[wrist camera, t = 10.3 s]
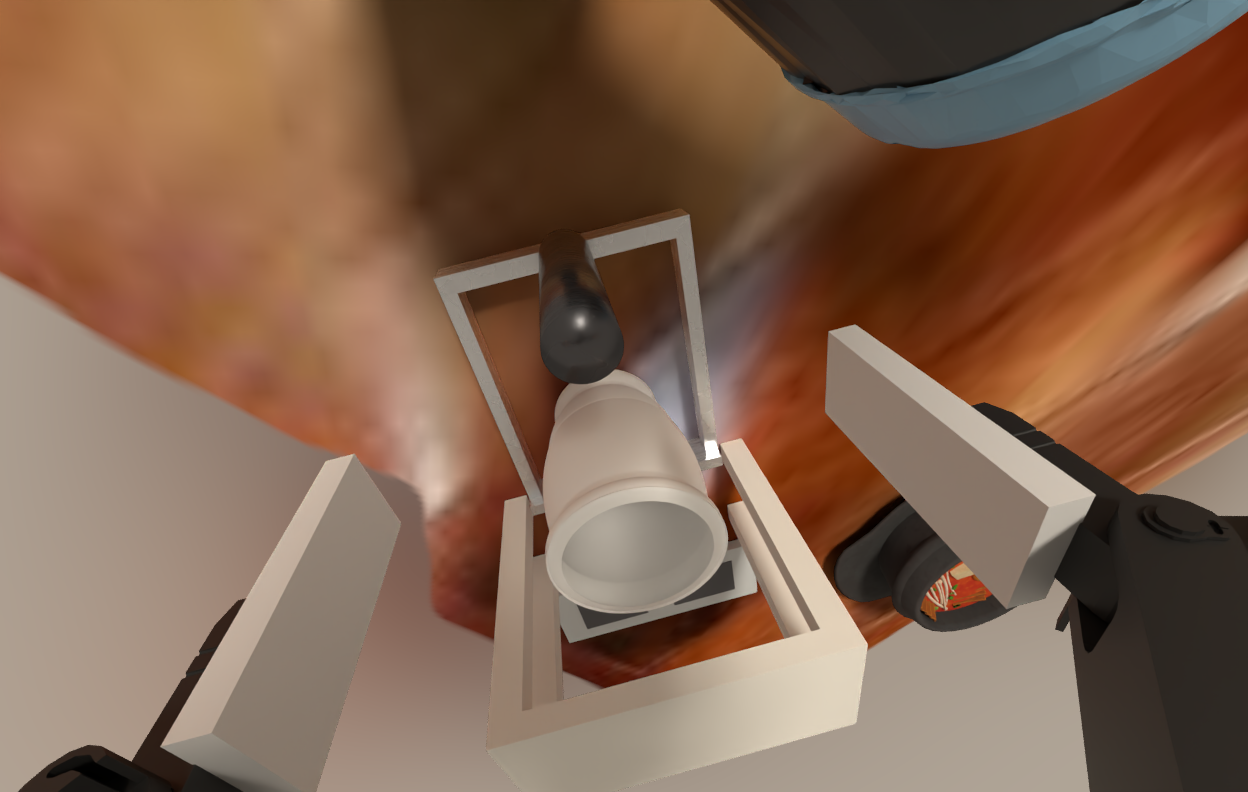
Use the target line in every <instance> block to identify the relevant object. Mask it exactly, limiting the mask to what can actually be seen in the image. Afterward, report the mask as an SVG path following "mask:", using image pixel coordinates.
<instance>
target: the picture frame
mask: <svg viewBox="0 0 1248 792" xmlns="http://www.w3.org/2000/svg"><path fill="white" fill-rule="evenodd" d="M667 240H670V243H671V249H672V256H673V263H674V270H675V277H676V283H677V290H678V297H679V304H680V311H681V317H682V324H683V331H684V338H685V344H686V351H687V358H688V365H689V372H690V378H691V385H692V392H693V399H694V406H695V412H696V419H697V426H698V433H699V438H695V439H691V440H687V441H688V443H689V445H690V447H691V448H692V450H693V452H694V454H695V457H696V459H697V461H698V464H699V466H700V469H701V471H703V470H707V469H711V468H715V467H718V466H722V465H723V462H722V456H721V454H720V452H719V450H718V446H717V437H716V429H715V421H714V413H713V405H712V396H711V388H710V380H709V372H708V363H707V355H706V347H705V339H704V331H703V322H702V314H701V306H700V298H699V289H698V281H697V273H696V265H695V257H694V248H693V240H692V232H691V224H690V216H689V214H688V213H687V212H685V211H684V210H683V209H681V208H680V209H676V210H672V211H668V212H664V213H660V214H656V215H652V216H648V217H644V218H640V219H636V220H632V221H628V222H624V223H620V224H616V225H612V226H609V227H605V228H601V229H597V230H593V231H589V232H585V233H581V234H579V233H577V232H575V231H572V230H569V229H560V230H556V231H553V232H551V233H550V234H548V235H547V236H546V237H545V238H544V239H543V241H542V242H541V244H537V245H533V246H529V247H525V248H521V249H517V250H513V251H509V252H505V253H501V254H497V255H493V256H489V257H485V258H481V259H477V260H473V261H469V262H465V263H461V264H457V265H453V266H449V267H445V268H441V269H439V270H438V272H437V273H436V275H435V277H434V282H435V284H436V286H437V288H438V291H439V293H440V295H441V298H442V300H443V302H444V304H445V307H446V309H447V311H448V314H449V316H450V318H451V320H452V323H453V325H454V327H455V330H456V332H457V334H458V336H459V339H460V341H461V343H462V345H463V348H464V350H465V352H466V355H467V357H468V359H469V361H470V364H471V366H472V368H473V371H474V373H475V375H476V377H477V380H478V382H479V384H480V387H481V389H482V391H483V393H484V396H485V398H486V400H487V403H488V405H489V407H490V409H491V412H492V414H493V416H494V419H495V421H496V423H497V425H498V428H499V430H500V432H501V435H502V437H503V439H504V441H505V444H506V446H507V448H508V451H509V453H510V455H511V457H512V460H513V462H514V464H515V467H516V469H517V471H518V473H519V476H520V478H521V480H522V483H523V485H524V487H525V489H526V492H527V494H528V496H529V508H530V510H531V512H532V514H533V516H534V515H538V514H542V513H545V508H544V500H543V479H541V478H540V475H539V473H538V470H537V468H536V465H535V463H534V460H533V458H532V455H531V453H530V450H529V448H528V446H527V443H526V441H525V438H524V436H523V433H522V431H521V428H520V426H519V423H518V421H517V418H516V416H515V414H514V411H513V409H512V406H511V404H510V401H509V399H508V396H507V394H506V391H505V389H504V386H503V384H502V382H501V379H500V377H499V374H498V372H497V369H496V367H495V364H494V362H493V359H492V357H491V354H490V352H489V350H488V347H487V345H486V342H485V340H484V337H483V335H482V332H481V330H480V327H479V325H478V322H477V320H476V318H475V315H474V313H473V310H472V308H471V305H470V303H469V300H468V298H467V295H466V293H465V291H469V290H473V289H477V288H481V287H485V286H489V285H493V284H496V283H500V282H504V281H508V280H512V279H516V278H520V277H524V276H528V275H532V274H536V273H539V305H540V349H541V356H542V359H543V362H544V364H545V365H546V367H547V368H548V370H549V371H550V372H551V373H552V374H553V375H554V376H556V377H557V378H559V379H561V380H563V381H565V382H568V383H572V384H590V383H594V382H597V381H599V380H602V379H603V378H605V377H607V376H608V375H609V374H611V373H612V372H613V371H614V370H615V368H616V367H617V366H618V364H619V362H620V360H621V358H622V355H623V350H624V341H623V336H622V333H621V330H620V328H619V325H618V322H617V320H616V317H615V314H614V312H613V309H612V306H611V303H610V301H609V298H608V295H607V293H606V290H605V287H604V285H603V282H602V279H601V277H600V274H599V271H598V269H597V266H596V263H595V261H594V259H595V258H599V257H603V256H607V255H611V254H615V253H619V252H623V251H627V250H631V249H635V248H639V247H643V246H647V245H651V244H655V243H659V242H663V241H667Z"/></svg>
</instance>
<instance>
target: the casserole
mask: <svg viewBox="0 0 1248 792" xmlns="http://www.w3.org/2000/svg"><path fill="white" fill-rule="evenodd" d="M834 580H835V583H836V586H837V588H838V589H839V590H840V592H841V593H842V594H843V595H845V596H846V597H848V598H849V599H852V600H856V601H859V602H870V601H873V600H877V599H881V598H884V597H888V596H892V602H893V606H894V607H895V609H896V610H897V612H899V613H900V614H901V615H903V616H904V617H907V618H910V619H913V620H914V621H916V622H917V623H918V624H920V625H921V626H922V627H924V628H926V629H929V630H932V631H940V632H946V631H957V630H962V629H967V628H971V627H974V626H978V625H980V624H983V623H985V622H988V621H990V620H993V619H995V618H997V617H999V616H1001V615H1003V614H1005V613H1007V612H1008V611H1010V610H1012V609H1013V608H1015V607H1012V608H1008V609H1006V608H1005V607H1004V606H1003V605H1002V604H1001V603H1000V602H999V601H998V599H997V598H996V597H995V596H994V595H993V594H992V593H991V592H990V591H989V590H988V589H987V588H986V586H985V585H984V584H983V583H982V582H981V581H980V580H979V579H978V578H977V577H976V576H975V574H974V573H973V572H972V571H971V570H970V569H969V568H968V567H967V566H966V565H965V564H964V563H963V561H962V560H961V559H960V558H959V557H958V556H957V555H956V554H955V553H954V552H953V551H952V550H951V548H950V547H949V546H948V545H947V544H946V543H945V542H944V541H943V540H942V539H941V538H940V536H939V535H938V534H937V533H936V532H935V531H934V530H933V529H932V528H931V527H930V526H929V525H928V523H927V522H926V521H925V520H924V519H923V518H922V517H921V516H920V515H919V514H918V513H917V511H916V510H915V509H914V508H913V507H912V506H911V505H910V504H909V503H908V502H907V501H904V502H903V503H901V504H900V505H899V506H897V507H896V508H895V509H894V510H893V511H892V512H890V513H889V514H888V515H887V516H886V517H885V518H884V519H883V520H882V521H881V522H880V523H879V524H878V525H876V526H875V527H874V528H873V529H872V530H871V531H870V532H869V533H867V534H866V535H864V536H863V537H862V538H860V539H859V540H857V541H856V542H855V543H853V544H852V545H850V546H849V547H848V548H846V549H845V550H844V551H843V553H842V554H841V555H840V556H839V558H838V559H837V562H836V565H835V568H834ZM1016 607H1017V606H1016Z"/></svg>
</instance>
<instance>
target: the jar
mask: <svg viewBox="0 0 1248 792" xmlns="http://www.w3.org/2000/svg"><path fill="white" fill-rule="evenodd" d="M543 500H544V508H545V515H546V520H547V524H548V528H549V534H548V538H547V541H546V547H545V560H546V567H547V572H548V575H549V578H550V580H551V582H552V583H553V585H554V586H555V588H556V589H557V590H558V591H559V592H560V593H561V594H562V595H563V596H564V597H566V598H567V599H569V600H570V601H572V602H574V603H575V604H578V605H580V606H582V607H585V608H588V609H591V610H595V611H600V612H606V613H637V612H644V611H649V610H653V609H657V608H661V607H664V606H667V605H669V604H672V603H674V602H677V601H679V600H681V599H683V598H685V597H686V596H688V595H690V594H691V593H693V592H695V591H696V590H697V589H699V588H700V587H701V586H703V585H704V584H705V583H706V582H707V581H708V580H709V579H710V578H711V577H712V576H713V575H714V573H715V572H716V571H717V569H718V568H719V566H720V565H721V563H722V561H723V559H724V557H725V554H726V551H727V546H728V532H727V528H726V525H725V522H724V520H723V518H722V516H721V513H720V512H719V510H718V508H717V507H716V505H715V504H714V503H713V502H712V500H711V499H710V498H709V497H708V496H707V490H706V486H705V482H704V478H703V475H702V472H701V469H700V466H699V464H698V461H697V459H696V457H695V454H694V452H693V450H692V448H691V447H690V445H689V443H688V441H687V440H686V438H685V437H684V435H683V434H682V432H681V431H680V430H679V428H678V427H677V426H676V425H675V423H674V422H673V421H672V420H671V418H670V417H669V416H668V414H667V413H666V412H665V410H664V409H663V408H662V407H661V406H660V405H659V404H658V403H657V402H656V400H655V397H654V394H653V393H652V391H651V389H650V388H649V387H648V385H647V384H646V383H645V382H644V381H642V380H641V379H640V378H638V377H637V376H635V375H633V374H631V373H628V372H625V371H622V370H616V369H615V370H614V371H613V372H612V373H611V374H609V375H608V376H607V377H605V378H603V379H602V380H599V381H597V382H594V383H590V384H572V383H569V384H568V385H567V386H566V388H565V389H564V390H563V391H562V393H561V394H560V396H559V398H558V400H557V403H556V406H555V425H554V427H553V430H552V434H551V438H550V443H549V449H548V452H547V456H546V461H545V466H544V474H543Z"/></svg>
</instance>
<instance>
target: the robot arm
mask: <svg viewBox="0 0 1248 792" xmlns="http://www.w3.org/2000/svg"><path fill="white" fill-rule="evenodd" d="M710 1H711V2H712V3H713V4H715V5H716V6H717V7H718V8H719V9H720V10H721V11H722V12H723V13H724V14H725V15H726V16H727V17H729V18H730V19H731V20H732V21H733V22H734V23H735V24H736V25H737V26H738V27H739V28H740V29H741V30H742V31H744V32H745V33H746V34H747V35H748V36H749V37H750V38H751V39H752V40H753V41H754V42H755V43H756V44H758V45H759V46H760V47H761V48H762V49H763V50H764V51H765V52H766V53H767V54H768V55H769V56H770V57H771V58H773V59H774V60H775V61H776V62H777V63H778V64H779V65H780V66H781V69H782V71H783V74H784V77H785V78H786V79H787V80H788V81H789V82H790V83H791V84H792V85H793V86H794V87H795V88H796V89H797V90H799V91H801V92H802V93H804V94H806V95H808V96H810V97H812V98H815V99H819V100H822V101H824V102H826V103H827V104H828V105H829V106H831V107H832V108H833V109H834V110H836V111H837V112H838V113H839V114H841V115H842V116H843V117H844V118H846V119H847V120H848V121H849V122H851V123H852V124H853V125H854V126H856V127H857V128H858V129H859V130H861V131H862V132H863V133H865V134H867V135H868V136H870V137H872V138H875V139H877V140H879V141H882V142H885V143H889V144H903V145H908V146H913V147H916V148H933V149H937V148H947V147H955V146H963V145H970V144H975V143H980V142H985V141H989V140H993V139H997V138H1001V137H1005V136H1008V135H1011V134H1014V133H1018V132H1021V131H1024V130H1027V129H1030V128H1033V127H1036V126H1039V125H1041V124H1044V123H1046V122H1049V121H1051V120H1054V119H1056V118H1059V117H1061V116H1064V115H1066V114H1069V113H1071V112H1074V111H1076V110H1079V109H1081V108H1083V107H1086V106H1088V105H1090V104H1092V103H1094V102H1096V101H1099V100H1101V99H1103V98H1105V97H1107V96H1109V95H1111V94H1113V93H1115V92H1117V91H1119V90H1121V89H1122V88H1124V87H1126V86H1128V85H1130V84H1132V83H1134V82H1136V81H1138V80H1140V79H1142V78H1143V77H1145V76H1147V75H1149V74H1151V73H1153V72H1155V71H1156V70H1158V69H1160V68H1161V67H1163V66H1165V65H1167V64H1168V63H1170V62H1172V61H1173V60H1175V59H1177V58H1179V57H1180V56H1182V55H1183V54H1185V53H1187V52H1188V51H1190V50H1191V49H1193V48H1195V47H1196V46H1198V45H1199V44H1201V43H1203V42H1204V41H1206V40H1207V39H1209V38H1210V37H1212V36H1213V35H1215V34H1216V33H1218V32H1219V31H1221V30H1222V29H1224V28H1225V27H1227V26H1228V25H1229V24H1231V23H1232V22H1234V21H1235V20H1236V19H1238V18H1239V17H1240V16H1242V15H1243V14H1244V13H1246V12H1247V11H1248V0H710ZM825 413H826V414H827V415H828V416H829V417H830V418H831V419H832V420H833V421H834V422H835V424H836V425H837V426H838V427H839V428H840V429H841V430H842V431H843V432H844V433H845V434H846V435H847V437H848V438H849V439H850V440H851V441H852V442H853V443H854V444H855V445H856V446H857V447H858V449H859V450H860V451H861V452H862V453H863V454H864V455H865V456H866V457H867V458H868V459H869V460H870V462H871V463H872V464H873V465H874V466H875V467H876V468H877V469H878V470H879V471H880V472H881V473H882V475H883V476H884V477H885V478H886V479H887V480H888V481H889V482H890V483H891V484H892V485H893V487H894V488H895V489H896V490H897V491H898V492H899V493H900V494H901V495H902V496H903V497H904V498H905V500H906V501H907V502H908V503H909V504H910V505H911V506H912V507H913V508H914V509H915V510H916V511H917V513H918V514H919V515H920V516H921V517H922V518H923V519H924V520H925V521H926V522H927V523H928V525H929V526H930V527H931V528H932V529H933V530H934V531H935V532H936V533H937V534H938V535H939V536H940V538H941V539H942V540H943V541H944V542H945V543H946V544H947V545H948V546H949V547H950V548H951V550H952V551H953V552H954V553H955V554H956V555H957V556H958V557H959V558H960V559H961V560H962V561H963V563H964V564H965V565H966V566H967V567H968V568H969V569H970V570H971V571H972V572H973V573H974V574H975V576H976V577H977V578H978V579H979V580H980V581H981V582H982V583H983V584H984V585H985V586H986V588H987V589H988V590H989V591H990V592H991V593H992V594H993V595H994V596H995V597H996V598H997V599H998V601H999V602H1000V603H1001V604H1002V605H1003V606H1004V607H1005V608H1006V609H1008V608H1012V607H1016V606H1019V605H1023V604H1027V603H1030V602H1033V601H1038V600H1041V599H1044V598H1046V596H1047V594H1048V592H1049V589H1050V588H1051V586H1052V584H1053V582H1054V580H1055V578H1056V579H1057V580H1058V581H1059V582H1060V583H1061V584H1062V585H1063V586H1065V587H1066V588H1067V589H1068V590H1069V591H1070V592H1071V595H1070V597H1069V599H1068V601H1067V603H1066V604H1065V606H1064V608H1063V610H1062V612H1061V614H1060V616H1059V617H1058V619H1057V624H1056V628H1055V629H1056V630H1059V631H1062V632H1063V631H1064V629H1065V628H1066V626H1067V624H1068V622H1069V621H1070V628H1071V636H1072V645H1073V654H1074V662H1075V671H1076V678H1077V687H1078V696H1079V704H1080V712H1081V720H1082V729H1083V737H1084V746H1085V754H1086V763H1087V771H1088V779H1089V788H1090V792H1248V516H1217V515H1216V514H1215V513H1213V512H1212V511H1209V510H1207V509H1205V508H1203V507H1200V506H1198V505H1196V504H1194V503H1191V502H1189V501H1185V500H1181V499H1178V498H1174V497H1170V496H1166V495H1154V494H1141V495H1138V494H1136V493H1134V492H1132V491H1131V490H1129V489H1128V488H1126V487H1125V486H1123V485H1122V484H1120V483H1119V482H1117V481H1115V480H1114V479H1112V478H1111V477H1109V476H1108V475H1106V474H1105V473H1103V472H1102V471H1100V470H1099V469H1097V468H1096V467H1094V466H1093V465H1091V464H1090V463H1088V462H1087V461H1085V460H1084V459H1082V458H1081V457H1079V456H1078V455H1076V454H1075V453H1073V452H1072V451H1070V450H1068V449H1067V448H1065V447H1064V446H1062V445H1061V444H1056V443H1055V442H1054V441H1055V440H1053V439H1052V438H1050V437H1049V436H1047V435H1046V434H1044V433H1043V432H1041V431H1036V428H1035V427H1034V426H1032V425H1031V424H1029V423H1028V422H1026V421H1024V420H1023V419H1021V418H1020V417H1018V416H1017V415H1015V414H1014V413H1012V412H1009V411H1007V410H1004V409H1001V408H998V407H996V406H993V405H990V404H988V403H985V402H984V403H980V404H976V405H972V406H970V405H968V404H967V403H966V402H964V401H963V400H961V399H960V398H959V397H957V396H956V395H954V394H953V393H952V392H950V391H949V390H947V389H946V388H944V387H943V386H942V385H940V384H939V383H937V382H936V381H935V380H933V379H932V378H930V377H929V376H927V375H926V374H925V373H923V372H922V371H920V370H919V369H918V368H916V367H915V366H913V365H912V364H911V363H909V362H908V361H906V360H905V359H903V358H902V357H901V356H899V355H898V354H896V353H895V352H894V351H892V350H891V349H889V348H888V347H886V346H885V345H884V344H882V343H881V342H879V341H878V340H877V339H875V338H874V337H872V336H871V335H870V334H868V333H867V332H865V331H864V330H862V329H861V328H860V327H858V326H857V325H851V326H848V327H844V328H840V329H836V330H832V331H828V353H827V378H826V403H825ZM400 526H401V522H400V521H399V519H398V518H397V516H396V515H395V513H394V512H393V510H392V509H391V507H390V506H389V504H388V503H387V501H386V500H385V498H384V497H383V495H382V494H381V492H380V491H379V490H378V488H377V486H376V485H375V484H374V482H373V481H372V479H371V478H370V476H369V475H368V473H367V472H366V470H365V469H364V467H363V466H362V464H361V463H360V461H359V460H358V458H357V457H356V455H355V454H352V455H348V456H344V457H340V458H336V459H332V460H328V461H326V462H325V464H324V465H323V467H322V469H321V471H320V472H319V474H318V476H317V478H316V479H315V481H314V483H313V485H312V486H311V488H310V490H309V491H308V493H307V495H306V497H305V498H304V500H303V502H302V503H301V505H300V507H299V509H298V510H297V512H296V514H295V515H294V517H293V519H292V521H291V522H290V524H289V526H288V528H287V529H286V531H285V533H284V534H283V536H282V538H281V540H280V541H279V543H278V545H277V547H276V548H275V550H274V552H273V554H272V555H271V557H270V559H269V560H268V562H267V564H266V565H265V567H264V569H263V571H262V572H261V574H260V576H259V578H258V579H257V581H256V583H255V584H254V586H253V588H252V590H251V591H250V593H249V595H248V596H247V598H245V599H242V600H238V601H237V602H236V603H235V604H234V605H233V606H232V607H231V609H230V610H229V611H228V612H227V613H226V614H225V615H224V616H223V617H222V618H221V619H220V620H219V621H218V622H217V624H216V625H215V626H214V628H213V629H212V631H211V632H210V634H209V636H208V637H207V639H206V641H205V642H204V644H203V645H202V647H201V649H200V650H199V652H200V654H199V656H196V657H195V659H194V660H193V662H192V664H191V665H190V667H189V668H188V670H187V672H186V678H184V679H182V680H181V681H180V683H179V685H178V687H177V688H176V690H175V691H174V693H173V695H172V696H171V698H170V700H169V701H168V703H167V704H166V706H165V708H164V709H163V711H162V713H161V714H160V716H159V718H158V719H157V721H156V722H155V724H154V726H153V728H152V729H151V731H150V732H149V734H148V736H147V737H146V739H145V740H144V742H143V744H142V746H141V747H140V749H139V750H138V752H137V754H136V755H135V757H134V758H133V760H132V762H131V761H129V760H127V759H125V758H123V757H121V756H119V755H117V754H115V753H113V752H111V751H109V750H108V749H106V748H104V747H102V746H93V745H87V746H84V747H81V748H79V749H76V750H73V751H71V752H69V753H67V754H65V755H64V756H62V757H61V758H59V759H57V760H56V761H54V762H53V763H51V764H49V765H48V766H47V767H46V768H44V769H43V770H42V771H41V772H39V773H38V774H37V775H36V776H35V777H33V778H32V779H31V780H30V781H29V782H28V783H26V784H25V785H24V786H23V787H22V788H21V789H20V790H19V792H316V791H317V787H318V784H319V781H320V778H321V775H322V772H323V768H324V765H325V762H326V759H327V756H328V753H329V750H330V747H331V743H332V740H333V737H334V734H335V731H336V728H337V725H338V721H339V718H340V715H341V712H342V709H343V705H344V702H345V699H346V696H347V693H348V690H349V686H350V683H351V680H352V677H353V674H354V671H355V667H356V665H357V661H358V658H359V655H360V652H361V649H362V646H363V643H364V639H365V636H366V633H367V630H368V627H369V624H370V621H371V617H372V614H373V611H374V608H375V605H376V602H377V598H378V595H379V592H380V589H381V586H382V583H383V579H384V577H385V573H386V570H387V567H388V563H389V561H390V558H391V555H392V551H393V548H394V545H395V542H396V538H397V535H398V532H399V529H400Z"/></svg>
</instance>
